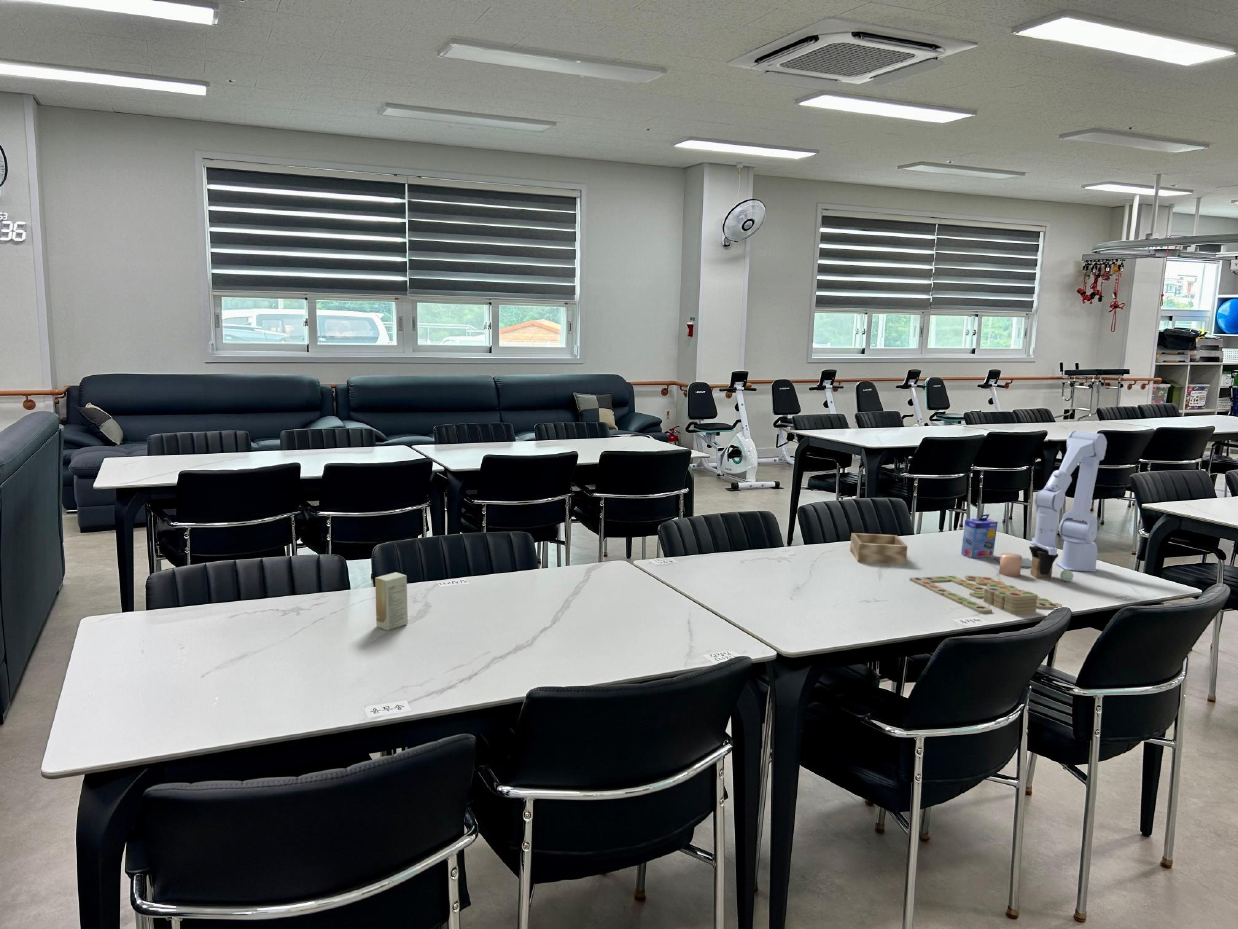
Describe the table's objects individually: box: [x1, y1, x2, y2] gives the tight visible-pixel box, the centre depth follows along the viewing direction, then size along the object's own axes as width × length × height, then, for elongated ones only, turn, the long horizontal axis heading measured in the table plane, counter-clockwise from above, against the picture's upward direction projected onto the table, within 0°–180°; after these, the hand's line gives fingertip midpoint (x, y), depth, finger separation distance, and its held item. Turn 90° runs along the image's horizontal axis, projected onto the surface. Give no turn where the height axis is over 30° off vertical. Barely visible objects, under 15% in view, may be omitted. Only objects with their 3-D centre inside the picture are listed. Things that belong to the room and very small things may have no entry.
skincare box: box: [374, 572, 409, 631], centre depth 208 cm, size 6×4×12 cm
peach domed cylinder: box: [998, 552, 1023, 578], centre depth 273 cm, size 6×6×6 cm
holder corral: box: [849, 532, 908, 566], centre depth 288 cm, size 15×15×6 cm
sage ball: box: [1059, 569, 1074, 583], centre depth 267 cm, size 4×4×4 cm
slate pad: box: [993, 555, 1032, 569], centre depth 287 cm, size 11×11×1 cm
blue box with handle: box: [960, 513, 998, 559], centre depth 294 cm, size 10×6×14 cm, turn 114°
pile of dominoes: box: [908, 575, 1064, 615], centre depth 251 cm, size 35×27×6 cm
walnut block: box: [1030, 557, 1054, 580], centre depth 271 cm, size 4×4×6 cm
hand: (1041, 572), depth 271 cm, fingers closed on walnut block, 4 cm apart
